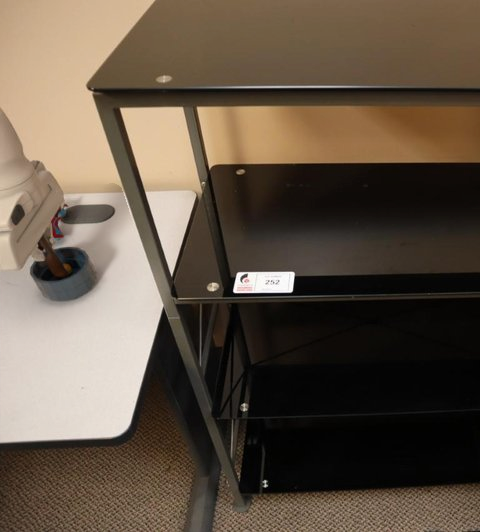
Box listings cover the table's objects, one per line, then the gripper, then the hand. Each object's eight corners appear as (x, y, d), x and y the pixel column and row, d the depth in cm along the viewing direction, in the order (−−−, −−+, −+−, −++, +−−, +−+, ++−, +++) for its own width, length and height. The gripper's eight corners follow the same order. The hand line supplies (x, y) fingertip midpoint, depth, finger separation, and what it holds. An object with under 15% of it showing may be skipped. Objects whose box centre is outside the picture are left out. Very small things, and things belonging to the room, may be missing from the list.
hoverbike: (41, 248, 105) (29, 228, 101) (50, 212, 113) (39, 192, 109) (69, 245, 106) (58, 224, 102) (76, 209, 114) (66, 189, 110)
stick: (55, 284, 97) (13, 220, 87) (61, 275, 99) (21, 211, 88) (67, 284, 97) (27, 220, 87) (73, 275, 99) (35, 212, 88)
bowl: (33, 303, 95) (20, 283, 91) (54, 266, 102) (42, 246, 98) (88, 303, 96) (77, 283, 92) (105, 266, 103) (95, 246, 99)
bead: (56, 278, 99) (52, 266, 99) (69, 276, 101) (65, 264, 101) (63, 274, 98) (59, 262, 98) (75, 272, 100) (71, 261, 100)
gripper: (17, 154, 90) (49, 215, 100) (-43, 230, 76) (1, 292, 86) (56, 155, 91) (83, 215, 101) (3, 230, 77) (41, 292, 86)
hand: (45, 251), depth 93 cm, fingers closed on stick, 2 cm apart
